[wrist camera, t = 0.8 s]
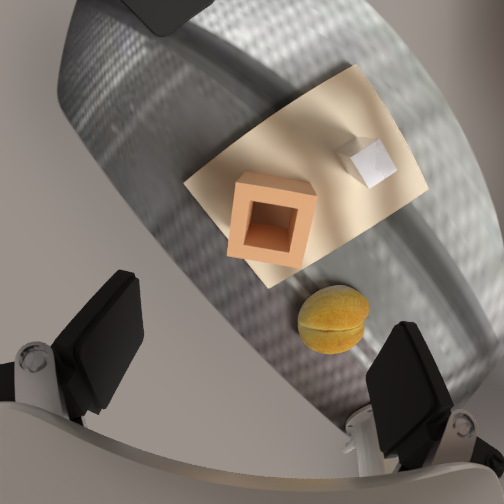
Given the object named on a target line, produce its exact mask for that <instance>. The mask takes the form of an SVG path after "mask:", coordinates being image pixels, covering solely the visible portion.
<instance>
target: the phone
mask: <svg viewBox="0 0 504 504" xmlns="http://www.w3.org/2000/svg"><path fill="white" fill-rule="evenodd" d="M122 1H123V2H124V3H125V4H126V5H127V6H128V7H129V8H130V9H131V10H132V11H133V12H134V13H135V14H136V15H137V16H138V17H139V18H140V19H141V20H142V21H143V22H144V23H145V24H146V25H147V26H148V27H149V28H150V29H151V30H152V31H153V32H154V33H155V34H156V35H158V36H160V37H165V36H168V35H169V34H171V33H172V32H174V31H175V30H176V29H178V28H179V27H180V26H181V25H183V24H184V23H185V22H187V21H188V20H190V19H191V18H192V17H194V16H195V15H197V14H198V13H199V12H201V11H202V10H204V9H205V8H207V7H208V6H210V5H211V4H212V3H213V2H214V0H122Z"/></svg>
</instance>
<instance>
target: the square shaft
mask: <svg viewBox="0 0 504 504" xmlns="http://www.w3.org/2000/svg"><path fill="white" fill-rule="evenodd" d="M334 152H335V154H336V155H337V157H338V158H339V160H340V161H341V163H342V165H343V166H344V168H345V169H346V171H347V172H348V174H349V175H350V176H352V177H353V178H355V179H356V180H357V181H359V182H360V183H361V184H363V185H364V186H366V187H367V188H368V189H370V188H371V187H373V186H374V185H376V184H378V183H379V182H381V181H382V180H384V179H385V178H387V177H388V176H390V175H392V174H393V173H395V172H396V171H397V169H396V167H395V165H394V163H393V162H392V160H391V158H390V156H389V154H388V152H387V151H386V149H385V147H384V145H383V144H382V142H381V140H380V139H376V138H368V137H358V136H356V137H354V138H353V139H351V140H350V141H348V142H346V143H345V144H343V145H342V146H340V147H339V148H337V149H335V150H334Z"/></svg>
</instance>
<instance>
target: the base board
mask: <svg viewBox="0 0 504 504" xmlns="http://www.w3.org/2000/svg"><path fill="white" fill-rule="evenodd" d="M356 136H358V137H368V138H376V139H380V140H381V142H382V144H383V145H384V147H385V149H386V151H387V152H388V154H389V156H390V158H391V160H392V162H393V163H394V165H395V167H396V169H397V171H396V172H395V173H393V174H392V175H390V176H388V177H387V178H385V179H384V180H382V181H381V182H379V183H378V184H376V185H374V186H373V187H371V188H370V189H368V188H367V187H366V186H364V185H363V184H361V183H360V182H359V181H357V180H356V179H355V178H353V177H352V176H350V175H349V174H348V172H347V171H346V169H345V168H344V166H343V165H342V163H341V161H340V160H339V158H338V157H337V155H336V154H335V152H334V150H335V149H337V148H339V147H340V146H342V145H343V144H345V143H346V142H348V141H350V140H351V139H353V138H354V137H356ZM245 171H246V172H253V173H259V174H266V175H272V176H277V177H283V178H289V179H294V180H299V181H305V182H310V183H311V185H312V187H313V189H314V191H315V192H316V194H317V196H318V197H317V201H316V206H315V210H314V215H313V219H312V224H311V228H310V233H309V237H308V241H307V245H306V250H305V254H304V258H303V262H302V266H301V269H299V268H293V267H288V266H282V265H276V264H270V263H265V262H259V261H253V260H247V259H245V261H246V262H247V263H248V264H249V266H250V267H251V268H252V269H253V271H254V272H255V273H256V274H257V275H258V277H259V278H260V279H261V280H262V282H263V283H264V284H265V285H266V286H267V288H268V289H269V288H271V287H273V286H274V285H276V284H278V283H279V282H281V281H283V280H285V279H286V278H288V277H290V276H292V275H293V274H295V273H297V272H298V271H300V270H302V269H303V268H305V267H307V266H308V265H310V264H312V263H314V262H315V261H317V260H319V259H320V258H322V257H323V256H325V255H327V254H328V253H330V252H332V251H333V250H335V249H337V248H338V247H340V246H342V245H343V244H345V243H346V242H348V241H350V240H351V239H353V238H354V237H356V236H358V235H359V234H361V233H362V232H364V231H366V230H367V229H369V228H370V227H372V226H373V225H375V224H377V223H378V222H380V221H381V220H383V219H384V218H386V217H387V216H389V215H391V214H392V213H394V212H395V211H397V210H398V209H400V208H401V207H403V206H404V205H406V204H407V203H409V202H410V201H412V200H413V199H415V198H416V197H418V196H419V195H421V194H422V193H424V192H425V191H427V190H428V186H427V184H426V182H425V179H424V177H423V175H422V173H421V171H420V169H419V167H418V165H417V162H416V160H415V158H414V156H413V154H412V152H411V151H410V149H409V147H408V145H407V143H406V141H405V139H404V137H403V136H402V134H401V132H400V130H399V128H398V127H397V125H396V123H395V122H394V120H393V118H392V117H391V115H390V113H389V112H388V110H387V108H386V107H385V105H384V104H383V102H382V101H381V99H380V97H379V96H378V94H377V93H376V91H375V90H374V88H373V87H372V86H371V84H370V83H369V81H368V80H367V78H366V77H365V76H364V74H363V73H362V72H361V70H360V69H359V67H358V66H357V65H356V64H355V65H353V66H351V67H349V68H348V69H346V70H344V71H342V72H341V73H339V74H337V75H335V76H334V77H332V78H330V79H328V80H327V81H325V82H323V83H322V84H320V85H318V86H317V87H315V88H313V89H312V90H310V91H309V92H307V93H305V94H304V95H302V96H301V97H299V98H298V99H296V100H294V101H293V102H291V103H290V104H288V105H287V106H285V107H284V108H282V109H281V110H279V111H278V112H276V113H275V114H273V115H272V116H270V117H269V118H268V119H266V120H265V121H263V122H262V123H260V124H259V125H258V126H256V127H255V128H253V129H252V130H251V131H249V132H248V133H246V134H245V135H244V136H242V137H241V138H240V139H238V140H237V141H236V142H234V143H233V144H232V145H230V146H229V147H228V148H226V149H225V150H224V151H223V152H221V153H220V154H219V155H217V156H216V157H215V158H214V159H212V160H211V161H210V162H209V163H207V164H206V165H205V166H204V167H202V168H201V169H200V170H199V171H197V172H196V173H195V174H194V175H193V176H191V177H190V178H189V179H188V180H187V181H185V182H184V183H183V184H184V185H185V186H186V187H187V189H188V190H189V191H190V192H191V194H192V195H193V196H194V197H195V199H196V200H197V201H198V202H199V204H200V205H201V206H202V207H203V209H204V210H205V211H206V212H207V214H208V215H209V216H210V217H211V219H212V220H213V221H214V222H215V224H216V225H217V226H218V227H219V229H220V230H221V231H222V232H223V234H224V235H225V236H226V237H227V238H228V240H229V233H230V224H231V216H232V208H233V200H234V192H235V184H236V181H237V180H238V179H239V178H240V177H241V176H242V175H243V174H244V172H245ZM291 212H292V208H291V207H285V206H280V205H274V204H268V203H262V202H256V201H254V206H253V213H252V220H251V222H253V223H259V224H264V225H270V226H276V227H282V228H287V229H288V227H289V222H290V217H291Z"/></svg>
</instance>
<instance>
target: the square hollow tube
mask: <svg viewBox="0 0 504 504" xmlns="http://www.w3.org/2000/svg"><path fill="white" fill-rule="evenodd" d="M317 197H318V196H317V194H316V192H315V191H314V189H313V187H312V185H311V183H310V182H305V181H299V180H294V179H289V178H283V177H277V176H272V175H266V174H259V173H253V172H246V171H245V172H244V174H243V175H242V176H241V177H240V178H239V179H238V180H237V181H236V184H235V192H234V200H233V208H232V216H231V224H230V233H229V241H228V250H227V256H230V257H236V258H242V259H247V260H253V261H259V262H265V263H270V264H276V265H282V266H288V267H293V268H299V269H301V266H302V262H303V258H304V254H305V250H306V245H307V241H308V237H309V233H310V228H311V224H312V219H313V215H314V210H315V206H316V201H317ZM254 201H256V202H262V203H268V204H274V205H280V206H285V207H291V208H292V212H291V217H290V222H289V227H288V229H287V228H282V227H276V226H270V225H264V224H259V223H253V222H251V220H252V213H253V206H254Z"/></svg>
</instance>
